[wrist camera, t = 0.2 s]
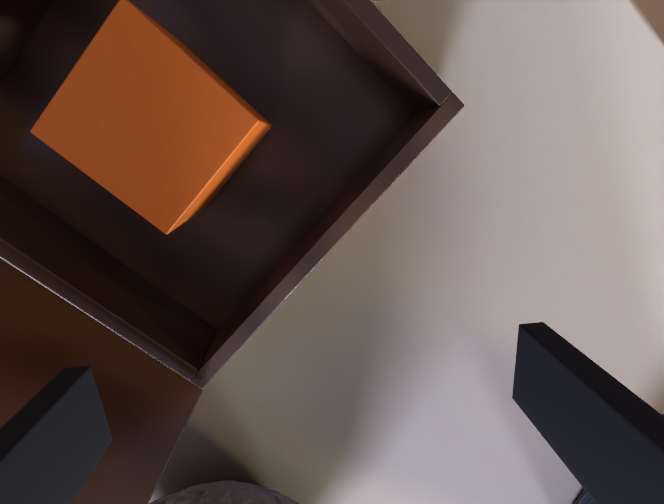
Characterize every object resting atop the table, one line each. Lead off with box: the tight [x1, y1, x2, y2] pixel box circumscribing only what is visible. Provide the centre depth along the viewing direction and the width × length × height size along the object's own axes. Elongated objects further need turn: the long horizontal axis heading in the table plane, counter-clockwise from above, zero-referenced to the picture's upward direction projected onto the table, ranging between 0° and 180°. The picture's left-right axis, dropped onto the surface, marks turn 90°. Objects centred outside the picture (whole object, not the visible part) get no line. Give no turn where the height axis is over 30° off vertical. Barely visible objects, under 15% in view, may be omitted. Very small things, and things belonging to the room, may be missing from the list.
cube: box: [30, 0, 272, 234], centre depth 20 cm, size 7×7×7 cm
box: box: [0, 0, 464, 388], centre depth 21 cm, size 22×21×6 cm
